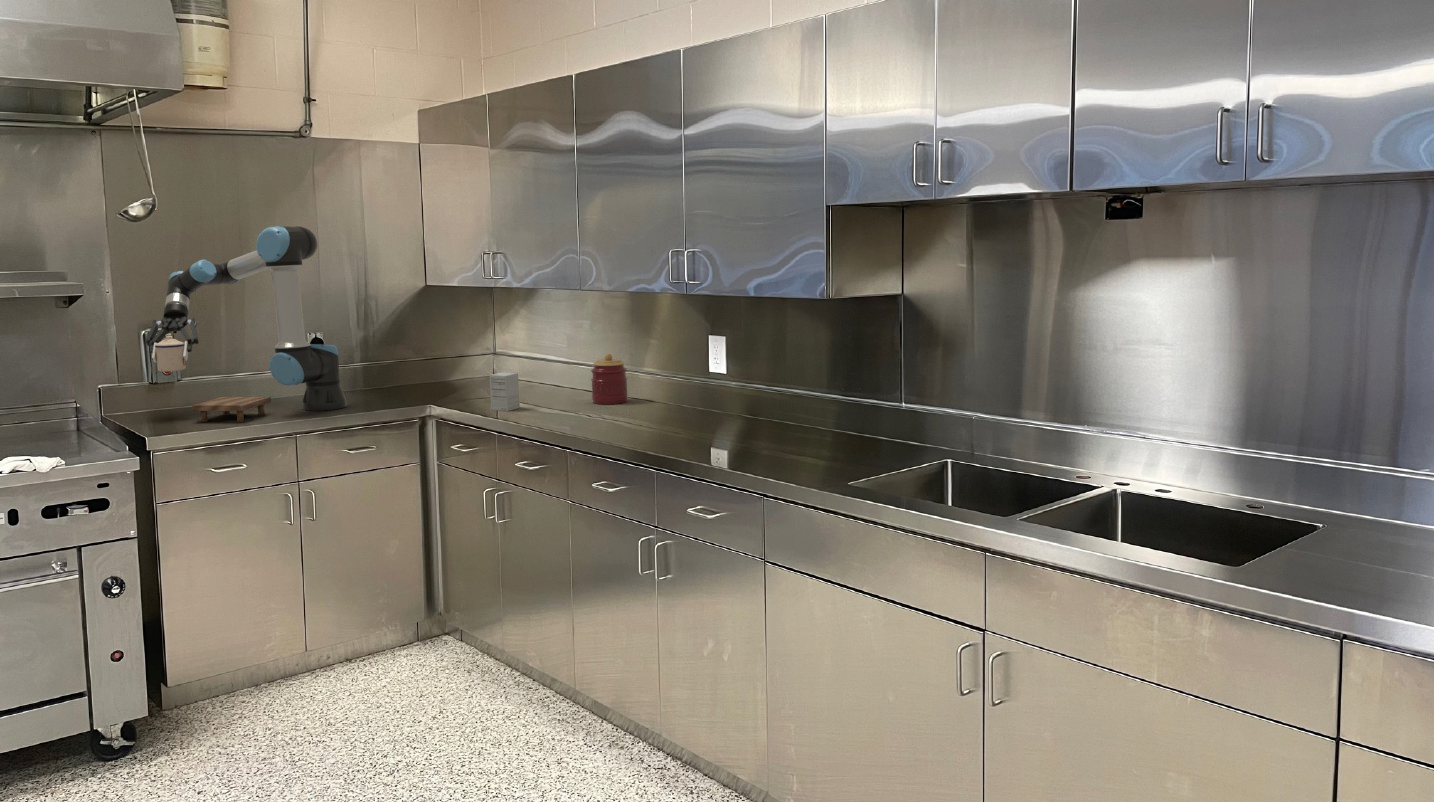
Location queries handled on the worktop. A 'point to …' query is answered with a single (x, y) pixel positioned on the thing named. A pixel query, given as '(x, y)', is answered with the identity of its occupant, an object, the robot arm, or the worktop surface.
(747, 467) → the worktop surface
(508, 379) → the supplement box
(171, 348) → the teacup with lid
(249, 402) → the brown wooden stand
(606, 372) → the canister
